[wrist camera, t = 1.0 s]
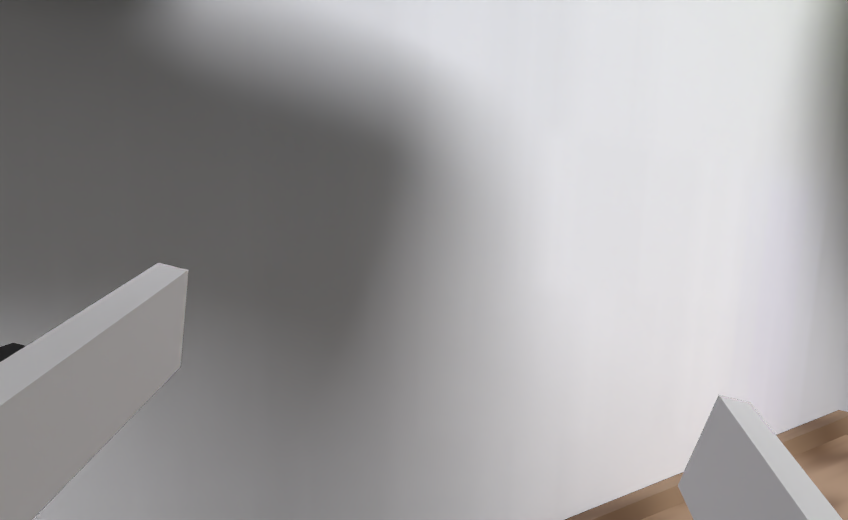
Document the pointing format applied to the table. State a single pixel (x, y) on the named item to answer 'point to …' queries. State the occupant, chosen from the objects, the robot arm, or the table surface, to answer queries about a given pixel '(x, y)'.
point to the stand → (809, 445)
